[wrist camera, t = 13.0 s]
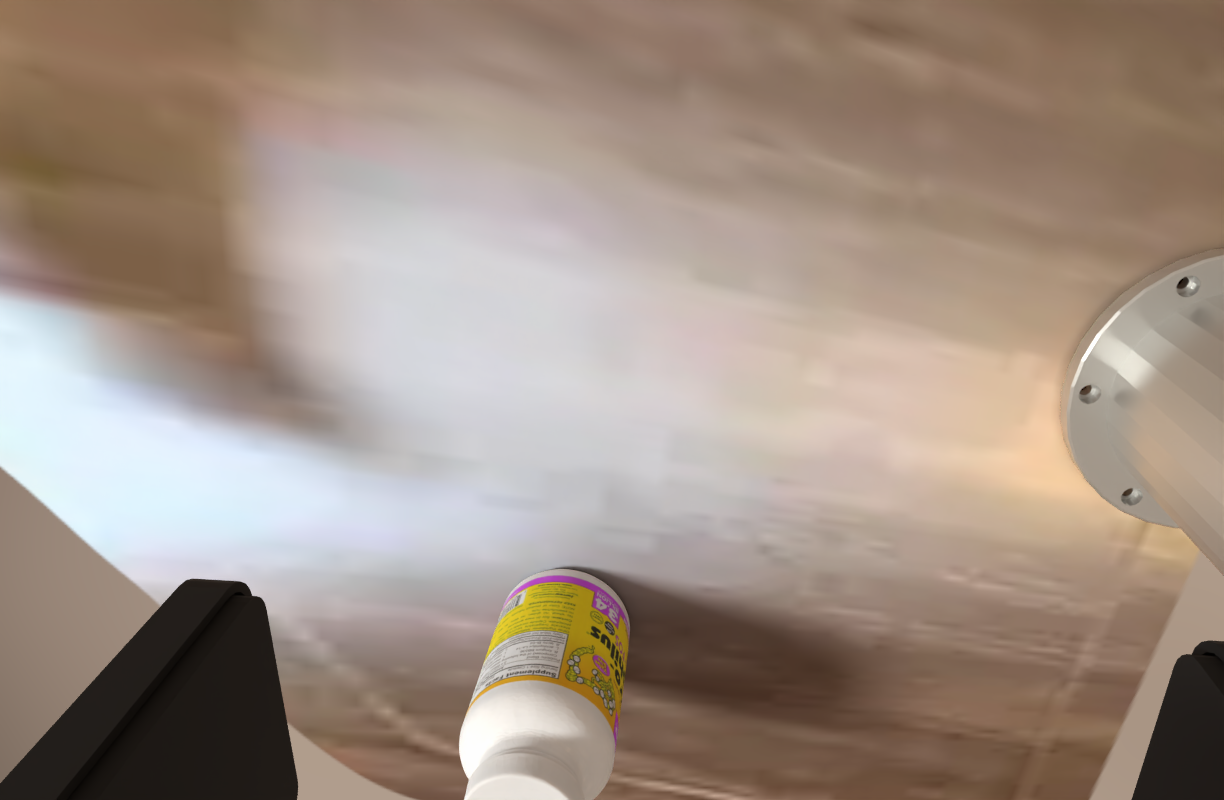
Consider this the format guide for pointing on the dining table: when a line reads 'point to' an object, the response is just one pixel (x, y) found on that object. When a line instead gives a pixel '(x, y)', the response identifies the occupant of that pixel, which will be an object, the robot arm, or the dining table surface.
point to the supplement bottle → (548, 692)
